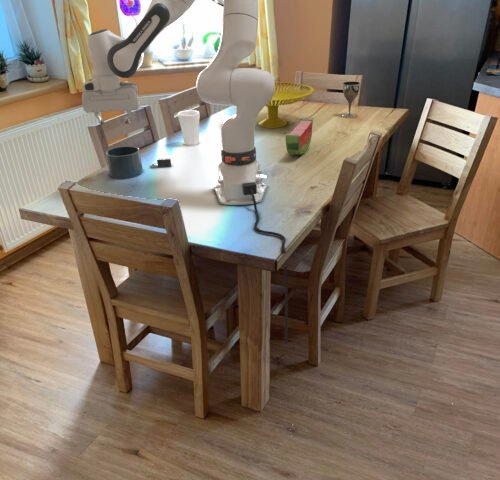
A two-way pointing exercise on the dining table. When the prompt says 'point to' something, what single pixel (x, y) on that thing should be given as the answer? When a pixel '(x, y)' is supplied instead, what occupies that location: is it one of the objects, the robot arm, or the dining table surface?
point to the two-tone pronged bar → (162, 163)
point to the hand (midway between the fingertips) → (115, 123)
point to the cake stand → (281, 100)
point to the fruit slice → (299, 137)
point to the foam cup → (189, 126)
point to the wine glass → (350, 94)
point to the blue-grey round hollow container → (124, 162)
